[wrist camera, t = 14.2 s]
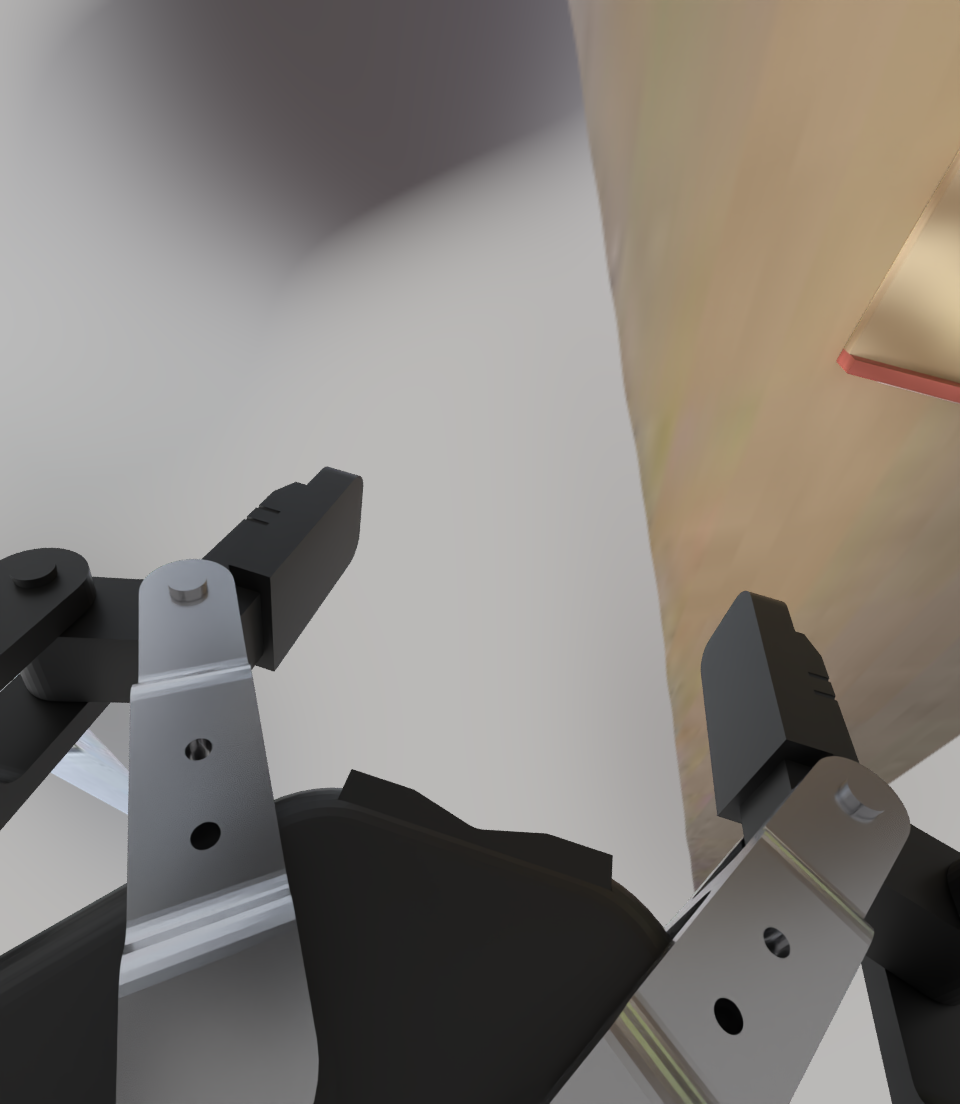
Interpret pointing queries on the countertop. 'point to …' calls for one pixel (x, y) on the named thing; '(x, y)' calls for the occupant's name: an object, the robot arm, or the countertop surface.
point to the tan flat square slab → (917, 307)
